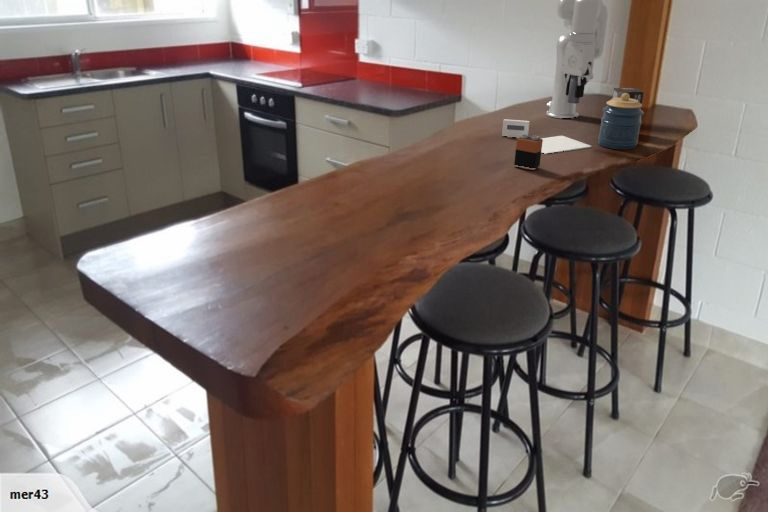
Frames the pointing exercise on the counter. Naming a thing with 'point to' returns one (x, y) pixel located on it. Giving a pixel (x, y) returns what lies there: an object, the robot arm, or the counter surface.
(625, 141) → the canister
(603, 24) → the robot arm
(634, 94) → the coffee box
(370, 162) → the counter surface
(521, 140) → the battery
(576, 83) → the marker
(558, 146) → the paper
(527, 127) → the word card
